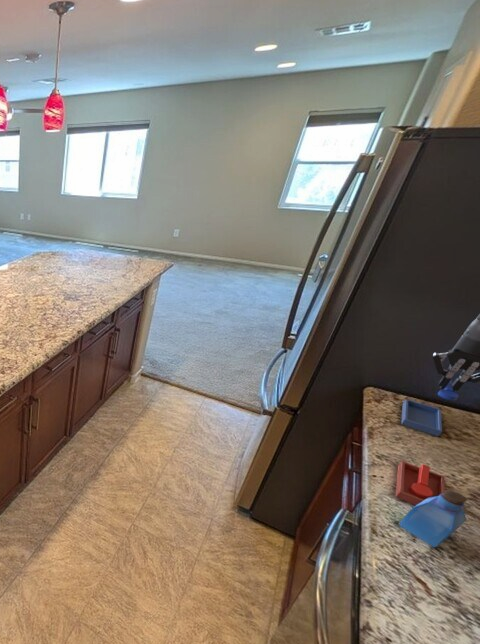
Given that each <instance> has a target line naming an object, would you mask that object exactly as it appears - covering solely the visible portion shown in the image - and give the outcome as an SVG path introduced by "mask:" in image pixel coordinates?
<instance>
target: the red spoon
mask: <svg viewBox="0 0 480 644" xmlns="http://www.w3.org/2000/svg"><path fill="white" fill-rule="evenodd" d="M419 467H420V468H419V474H418V481H417V483H415V484H413V485H412V486H411V487H410V491H411V492H412V493H413V494H414V495H416V496H418V497H420V498H424V499H427V498H430V497H431V496H432V495H433V492H432V490H431V489H430V488H428V487H427V485H428V478H429V471H430V468H431V467H430V466H429V465H427V464H424V463H422V464H421V465H420V466H419Z"/></svg>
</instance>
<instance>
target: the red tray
mask: <svg viewBox="0 0 480 644" xmlns="http://www.w3.org/2000/svg"><path fill="white" fill-rule="evenodd" d="M420 467H421V466H418V465H415V464H412V463H409V462H406V461H404V460H401V461H400V462H399V464H398V465H397V474H396V487H395V498H397V499H399V500H402V501H404V502H407V503H409V504H411V505H414V506H416V505H418V504H419V503H421V502H422V501H424V500H425V499H424V498H420V497H418V496H416V495H414V494H413V493H412V492H411V491H410V487H411V486H412V485H413V484H415V483H417V481H418V474H419V468H420ZM445 478H446V477H445V475H442V474H439V473H436V472H434V471H431V470H429V478H428V485H427V487H428V488H430V489H431V490H432V492H433V495H432V496H431V497H436V496H439V495H440V494H441V493H444V492H445V490H446V479H445Z"/></svg>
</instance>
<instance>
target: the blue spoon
mask: <svg viewBox="0 0 480 644" xmlns="http://www.w3.org/2000/svg"><path fill="white" fill-rule="evenodd" d="M452 384H453V380H452V379H451V381H450V382H449V383H448V385H447V386H446V387H445V388H444V389H439V391H438V392H437V396H439V397H440V398H442V399H445V400H448V401H457V400H458V398H459V397H460V396H459V394H458V393H457V392H455V391H454V392H452V391H453V387H452Z"/></svg>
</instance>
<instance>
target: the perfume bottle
mask: <svg viewBox="0 0 480 644" xmlns="http://www.w3.org/2000/svg"><path fill="white" fill-rule="evenodd" d="M467 501H468V500H467V498H466V496H464V495H463V494H461V493H459V492H458V491H455V490H451V489H445V492H444V493H441V494H440V495H439V496H436V497H430V498H427V499H425V500H424V501H422V502H421V503H419V504H418V505H414V506H413V507H412V508H411V509H410V510H409V511H408V512H407V514H406V515H404V517H403V518H402V519H401V521H400V522H399V523H398V524H397V526H400V527H401V528H403V529H404V530H405V531H407V532H409V533H410V534H411V535H413V536H415V537H416V538H418V539H420V540H421V541H422V542H424V543H426V544H428V545H429V546H431V547H432V548H436V547H438V546H439V545H440V544H442V543H443V542H445V541H446V540H447V539H448V538H450V537H451V536H452V535H453V534H454V533H455V532H456V531H457V530H458V529H459V528H460V527H461V526H462V525H463V524H464V523H465V522H466V521H467V518H466V514H465V510H464V509H463V507H464V506H465V503H466V502H467Z"/></svg>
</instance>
